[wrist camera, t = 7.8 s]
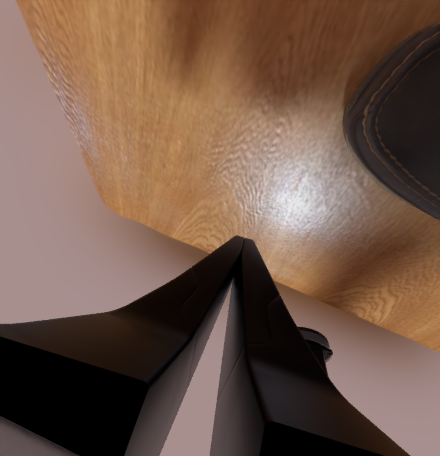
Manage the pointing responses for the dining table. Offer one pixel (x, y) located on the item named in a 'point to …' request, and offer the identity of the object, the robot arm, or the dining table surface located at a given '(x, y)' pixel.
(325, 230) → the dining table surface
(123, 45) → the dining table surface
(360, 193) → the dining table surface
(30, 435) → the robot arm
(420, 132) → the boat shoe
